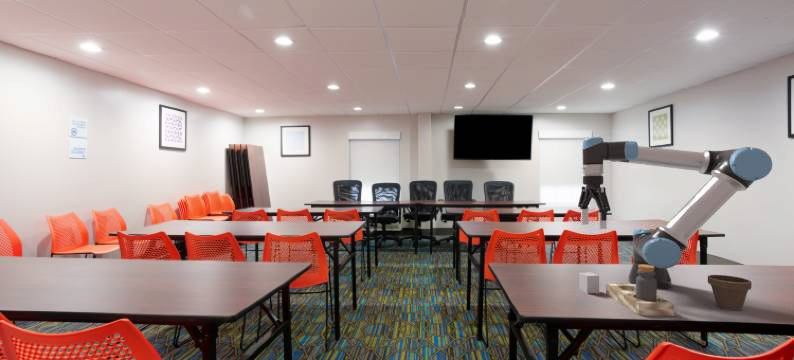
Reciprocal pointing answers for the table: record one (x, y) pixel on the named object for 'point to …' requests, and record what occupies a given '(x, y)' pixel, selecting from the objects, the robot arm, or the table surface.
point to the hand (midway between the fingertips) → (593, 226)
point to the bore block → (639, 301)
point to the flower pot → (729, 291)
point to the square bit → (589, 282)
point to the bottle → (646, 284)
